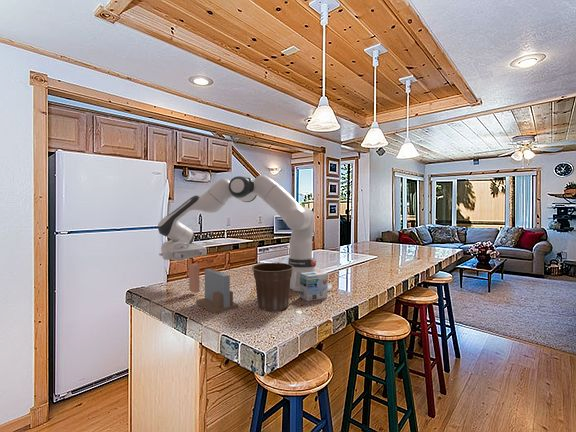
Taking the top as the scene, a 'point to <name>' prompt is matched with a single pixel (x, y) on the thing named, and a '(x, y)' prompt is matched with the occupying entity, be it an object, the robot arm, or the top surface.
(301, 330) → the top surface
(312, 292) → the light bulb box
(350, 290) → the top surface
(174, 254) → the robot arm
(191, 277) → the stub
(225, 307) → the ticket holder
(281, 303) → the plant pot
